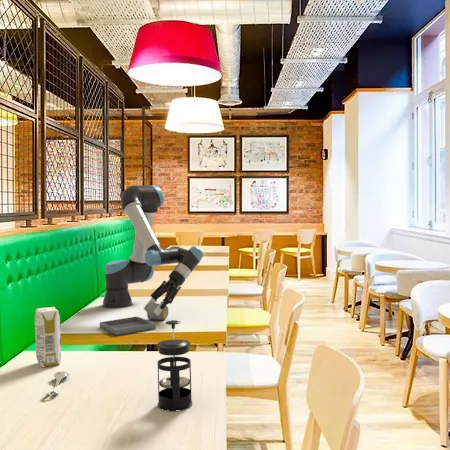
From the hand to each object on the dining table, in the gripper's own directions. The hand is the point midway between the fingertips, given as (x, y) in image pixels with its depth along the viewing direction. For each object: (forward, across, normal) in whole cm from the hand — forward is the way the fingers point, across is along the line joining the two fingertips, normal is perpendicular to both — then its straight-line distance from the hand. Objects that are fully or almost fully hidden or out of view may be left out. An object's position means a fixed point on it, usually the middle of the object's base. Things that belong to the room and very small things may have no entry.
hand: (150, 312), depth 251 cm
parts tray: (+13, -7, +8) cm, 17 cm away
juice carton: (+44, -37, +38) cm, 69 cm away
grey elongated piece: (+48, -63, +42) cm, 89 cm away
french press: (+32, -97, +27) cm, 106 cm away
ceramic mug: (0, +1, -6) cm, 6 cm away
